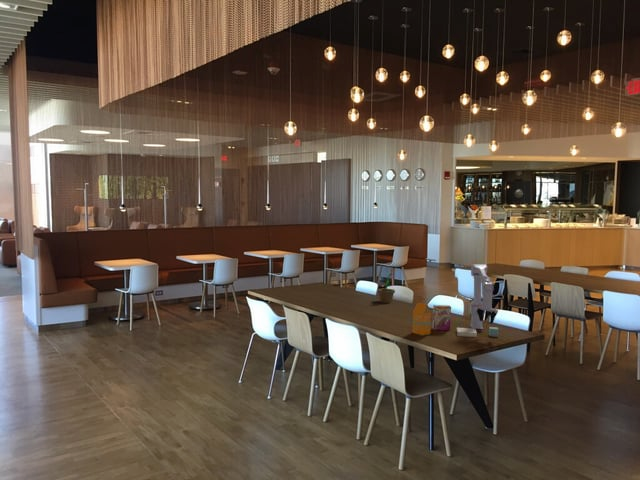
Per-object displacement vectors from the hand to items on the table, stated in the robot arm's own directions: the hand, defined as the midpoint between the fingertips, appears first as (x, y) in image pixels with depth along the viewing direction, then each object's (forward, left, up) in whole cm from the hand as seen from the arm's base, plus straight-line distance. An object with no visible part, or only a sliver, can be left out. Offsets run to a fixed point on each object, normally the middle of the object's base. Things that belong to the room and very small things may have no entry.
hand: (486, 322), depth 335 cm
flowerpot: (-99, -72, -10) cm, 123 cm away
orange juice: (+2, -41, -10) cm, 42 cm away
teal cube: (-5, +5, -10) cm, 12 cm away
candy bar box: (-12, -28, -10) cm, 32 cm away
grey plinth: (-4, -12, -10) cm, 16 cm away
